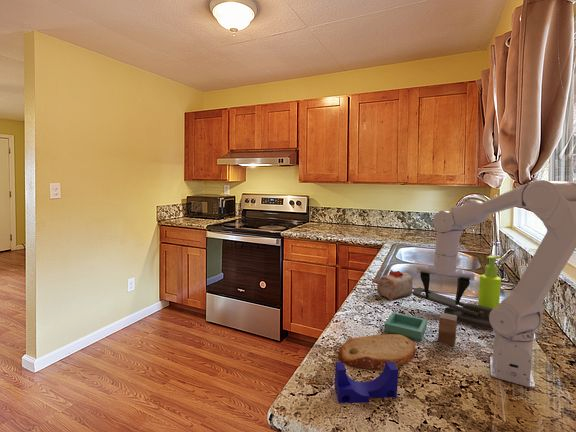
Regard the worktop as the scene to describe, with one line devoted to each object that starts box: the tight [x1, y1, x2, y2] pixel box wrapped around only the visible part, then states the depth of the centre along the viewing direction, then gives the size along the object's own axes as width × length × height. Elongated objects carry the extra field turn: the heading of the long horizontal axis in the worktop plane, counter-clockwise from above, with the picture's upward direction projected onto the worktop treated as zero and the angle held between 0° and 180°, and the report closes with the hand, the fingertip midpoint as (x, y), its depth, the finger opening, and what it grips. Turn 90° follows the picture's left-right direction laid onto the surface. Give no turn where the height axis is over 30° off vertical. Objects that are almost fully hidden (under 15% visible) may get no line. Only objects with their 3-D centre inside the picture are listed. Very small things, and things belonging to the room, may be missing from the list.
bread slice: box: [338, 333, 417, 371], centre depth 81 cm, size 18×18×4 cm
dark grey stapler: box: [412, 286, 494, 331], centre depth 105 cm, size 9×7×25 cm
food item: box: [376, 269, 414, 301], centre depth 124 cm, size 14×8×10 cm, turn 124°
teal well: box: [383, 312, 428, 342], centre depth 95 cm, size 10×10×2 cm
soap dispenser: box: [477, 254, 504, 313], centre depth 106 cm, size 6×7×20 cm
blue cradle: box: [333, 361, 399, 404], centre depth 64 cm, size 12×4×6 cm, turn 93°
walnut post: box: [437, 312, 458, 347], centre depth 88 cm, size 4×4×7 cm
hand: (441, 300), depth 91 cm, fingers open, 7 cm apart
